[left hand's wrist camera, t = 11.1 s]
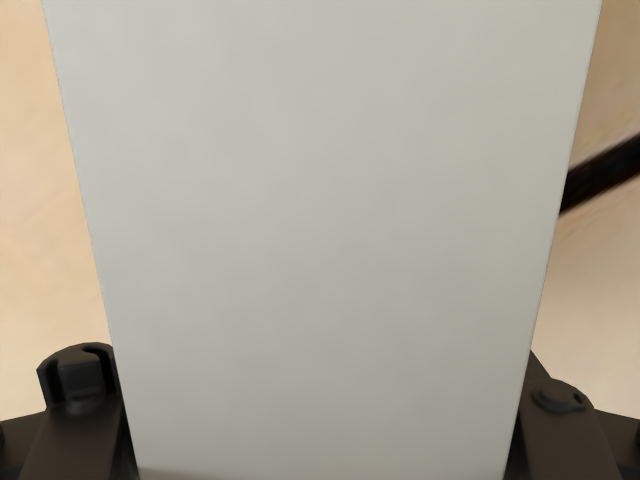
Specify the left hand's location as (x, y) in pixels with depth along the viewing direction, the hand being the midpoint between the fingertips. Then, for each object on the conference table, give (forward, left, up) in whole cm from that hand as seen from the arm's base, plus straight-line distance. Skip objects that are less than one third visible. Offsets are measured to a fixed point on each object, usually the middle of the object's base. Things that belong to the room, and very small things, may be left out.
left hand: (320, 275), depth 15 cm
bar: (+9, +1, -1) cm, 9 cm away
